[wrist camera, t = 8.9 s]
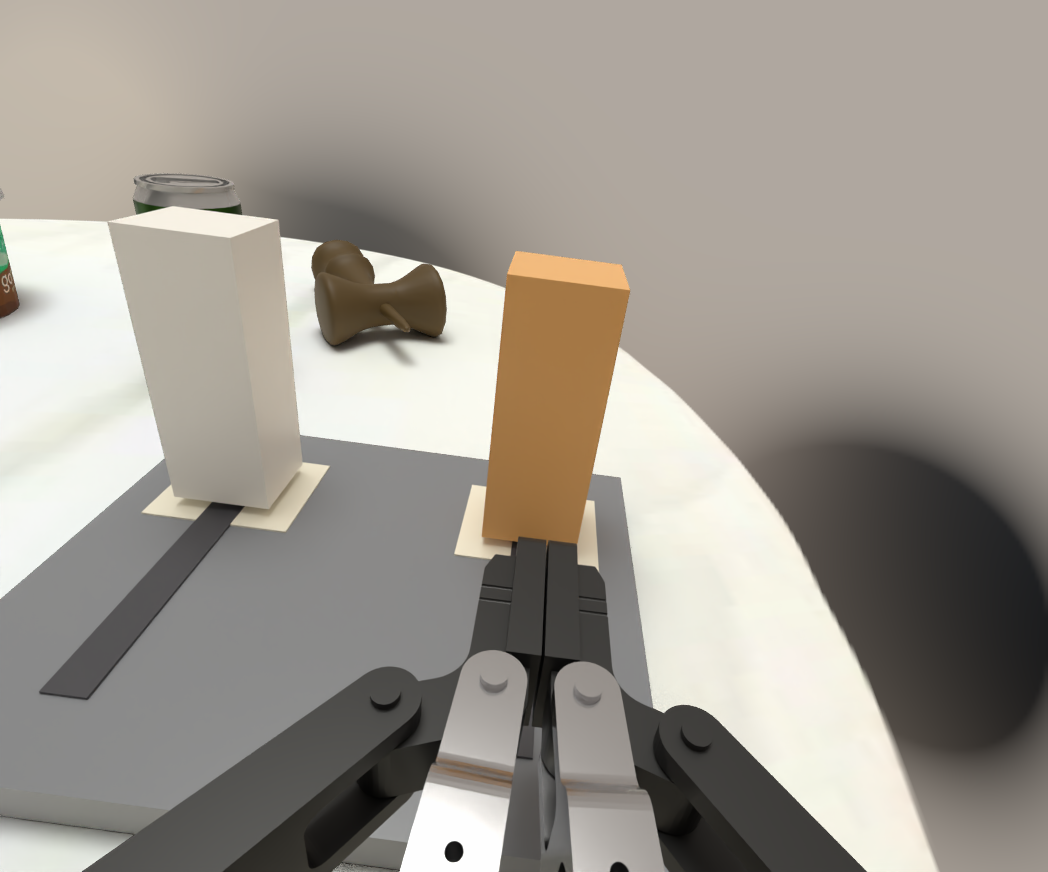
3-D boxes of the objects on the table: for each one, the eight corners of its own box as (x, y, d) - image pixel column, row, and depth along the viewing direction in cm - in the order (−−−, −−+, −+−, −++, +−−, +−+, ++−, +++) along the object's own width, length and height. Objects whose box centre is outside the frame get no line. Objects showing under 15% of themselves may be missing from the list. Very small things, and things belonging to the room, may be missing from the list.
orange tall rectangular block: (576, 549, 24) (630, 290, 18) (481, 536, 24) (507, 273, 18) (575, 500, 27) (621, 265, 21) (491, 488, 27) (515, 251, 21)
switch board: (663, 905, 15) (678, 876, 14) (-160, 794, 15) (-192, 759, 14) (615, 500, 31) (620, 476, 30) (210, 446, 31) (206, 420, 30)
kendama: (386, 291, 60) (467, 360, 45) (289, 298, 55) (344, 377, 40) (383, 231, 57) (469, 284, 42) (280, 234, 52) (337, 294, 37)
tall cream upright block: (268, 509, 24) (230, 237, 18) (174, 496, 24) (107, 221, 18) (302, 464, 27) (278, 219, 21) (218, 453, 27) (173, 206, 21)
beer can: (254, 355, 41) (230, 175, 35) (270, 386, 37) (246, 190, 31) (168, 364, 38) (126, 170, 32) (176, 398, 35) (130, 186, 29)
